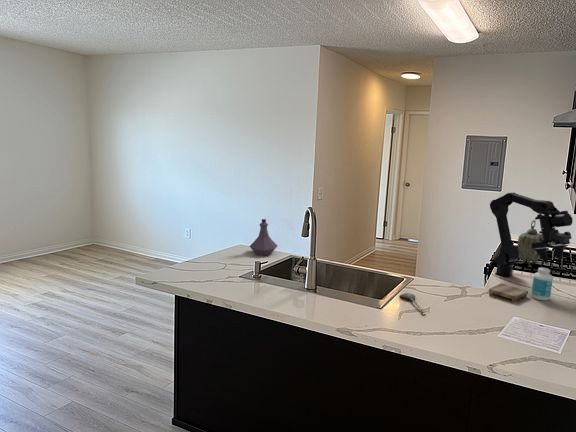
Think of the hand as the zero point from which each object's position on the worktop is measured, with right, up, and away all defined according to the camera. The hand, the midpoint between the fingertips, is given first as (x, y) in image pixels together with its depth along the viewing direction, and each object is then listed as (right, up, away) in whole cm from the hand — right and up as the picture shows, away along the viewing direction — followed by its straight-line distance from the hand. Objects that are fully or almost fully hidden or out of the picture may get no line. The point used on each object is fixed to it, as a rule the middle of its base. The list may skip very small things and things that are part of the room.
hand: (553, 262), depth 206 cm
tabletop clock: (+11, -6, +43) cm, 45 cm away
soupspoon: (-68, -17, -15) cm, 72 cm away
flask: (-135, -1, +56) cm, 147 cm away
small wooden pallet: (-23, -15, -4) cm, 27 cm away
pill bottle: (-9, -16, -5) cm, 19 cm away
